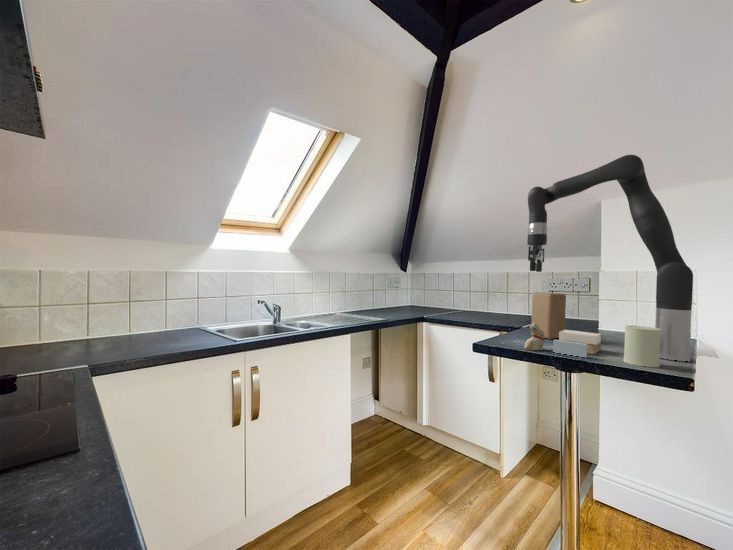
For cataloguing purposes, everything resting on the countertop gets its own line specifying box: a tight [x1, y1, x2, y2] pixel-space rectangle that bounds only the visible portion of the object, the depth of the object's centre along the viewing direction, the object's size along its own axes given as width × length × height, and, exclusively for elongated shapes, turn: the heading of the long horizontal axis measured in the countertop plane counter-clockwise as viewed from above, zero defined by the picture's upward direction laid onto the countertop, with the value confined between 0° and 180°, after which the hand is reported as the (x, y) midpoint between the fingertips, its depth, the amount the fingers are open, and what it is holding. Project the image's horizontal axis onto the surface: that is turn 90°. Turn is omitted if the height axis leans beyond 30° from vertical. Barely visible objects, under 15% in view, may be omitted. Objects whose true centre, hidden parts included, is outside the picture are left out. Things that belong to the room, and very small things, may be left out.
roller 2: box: [587, 345, 596, 356], centre depth 126 cm, size 12×3×3 cm, turn 48°
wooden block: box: [530, 291, 567, 340], centre depth 156 cm, size 10×10×20 cm
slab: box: [558, 329, 602, 345], centre depth 131 cm, size 12×9×3 cm
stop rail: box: [552, 339, 588, 359], centre depth 119 cm, size 10×2×4 cm, turn 48°
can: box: [622, 325, 661, 368], centre depth 111 cm, size 9×9×12 cm
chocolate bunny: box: [523, 323, 545, 351], centre depth 127 cm, size 6×8×10 cm
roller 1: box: [562, 340, 598, 354], centre depth 129 cm, size 12×3×3 cm, turn 48°
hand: (535, 271), depth 150 cm, fingers open, 8 cm apart
